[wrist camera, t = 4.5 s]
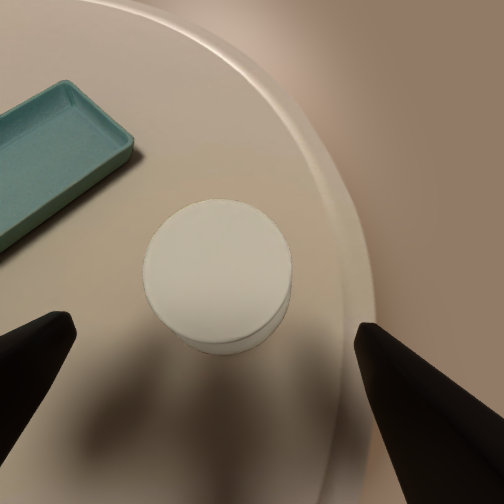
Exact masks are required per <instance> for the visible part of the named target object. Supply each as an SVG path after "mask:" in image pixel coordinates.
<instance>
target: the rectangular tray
mask: <svg viewBox="0 0 504 504" xmlns="http://www.w3.org/2000/svg"><path fill="white" fill-rule="evenodd" d="M133 145H134V137H133V136H132V135H130V134H129V133H128V132H127V131H126V130H125V129H124V128H122V127H121V126H120V125H119V124H118V123H116V122H115V121H114V120H113V119H112V118H111V117H110V116H109V115H107V114H106V113H105V112H104V111H103V110H102V109H101V108H99V107H98V106H97V105H96V104H95V103H94V102H93V101H92V100H91V99H89V97H88V96H86V95H85V94H84V93H83V92H82V91H81V90H80V89H79V88H78V87H77V86H75V85H74V84H73V83H72V82H71V81H69V80H62V81H60V82H58V83H56V84H54V85H53V86H51V87H49V88H47V89H46V90H44V91H42V92H40V93H39V94H37V95H35V96H33V97H31V98H30V99H28V100H26V101H24V102H23V103H21V104H19V105H17V106H16V107H14V108H12V109H10V110H8V111H7V112H5V113H3V114H1V115H0V253H1V252H2V251H3V250H5V249H6V248H8V247H9V246H10V245H12V244H13V243H15V242H16V241H17V240H19V239H20V238H21V237H23V236H24V235H26V234H27V233H28V232H30V231H31V230H33V229H34V228H35V227H37V226H38V225H39V224H41V223H42V222H44V221H45V220H46V219H48V218H49V217H51V216H52V215H53V214H55V213H56V212H57V211H59V210H60V209H62V208H63V207H64V206H66V205H67V204H69V203H70V202H71V201H73V200H74V199H75V198H77V197H78V196H80V195H81V194H82V193H84V192H85V191H86V190H88V189H89V188H91V187H92V186H93V185H95V184H96V183H97V182H99V181H100V180H102V179H103V178H104V177H106V176H107V175H109V174H110V173H111V172H113V171H114V170H116V169H117V168H118V167H120V166H121V165H123V164H124V163H125V162H127V161H128V159H129V157H130V155H131V152H132V149H133Z"/></svg>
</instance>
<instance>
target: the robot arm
mask: <svg viewBox="0 0 504 504" xmlns="http://www.w3.org/2000/svg"><path fill="white" fill-rule="evenodd" d="M76 336H77V331H76V328H75V325H74V323H73V320H72V317H71V315H70V314H69V313H68V312H65V311H53V312H50V313H48V314H46V315H44V316H42V317H40V318H37V319H35V320H33V321H31V322H29V323H27V324H25V325H23V326H21V327H19V328H17V329H14V330H12V331H10V332H8V333H6V334H4V335H2V336H0V467H1V465H2V463H3V462H4V460H5V459H6V457H7V456H8V454H9V452H10V451H11V449H12V448H13V446H14V445H15V443H16V441H17V440H18V438H19V437H20V435H21V434H22V432H23V430H24V429H25V427H26V426H27V424H28V423H29V421H30V419H31V418H32V416H33V415H34V413H35V412H36V410H37V408H38V407H39V405H40V404H41V402H42V401H43V399H44V397H45V396H46V394H47V392H48V391H49V389H50V387H51V385H52V384H53V382H54V380H55V378H56V376H57V374H58V372H59V370H60V368H61V367H62V365H63V363H64V361H65V359H66V357H67V355H68V353H69V351H70V349H71V347H72V345H73V343H74V341H75V339H76ZM354 350H355V354H356V357H357V361H358V365H359V369H360V372H361V376H362V380H363V384H364V387H365V391H366V394H367V398H368V401H369V403H370V406H371V409H372V412H373V414H374V417H375V420H376V422H377V425H378V427H379V430H380V433H381V435H382V438H383V441H384V443H385V446H386V449H387V451H388V454H389V457H390V459H391V462H392V465H393V467H394V470H395V472H396V475H397V477H398V481H399V483H400V486H401V488H402V491H403V494H404V496H405V499H406V502H407V504H504V418H502V417H501V416H500V415H498V414H497V413H495V412H494V411H493V410H491V409H490V408H489V407H487V406H486V405H485V404H483V403H482V402H481V401H479V400H478V399H476V398H475V397H474V396H473V395H471V394H470V393H468V392H467V391H466V390H464V389H463V388H462V387H460V386H459V385H458V384H456V383H455V382H453V381H452V380H451V379H450V378H448V377H447V376H446V375H444V374H443V373H442V372H440V371H439V370H438V369H436V368H435V367H433V366H432V365H431V364H429V363H428V362H427V361H425V360H424V359H422V358H421V357H420V356H419V355H417V354H416V353H415V352H413V351H412V350H411V349H409V348H408V347H406V346H405V345H404V344H402V343H401V342H400V341H398V340H397V339H396V338H394V337H393V336H391V335H390V334H389V333H388V332H386V331H385V330H383V329H382V328H381V327H380V326H378V325H377V324H375V323H366V322H363V323H361V324H360V325H359V328H358V331H357V334H356V337H355V340H354Z"/></svg>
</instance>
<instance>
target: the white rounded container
mask: <svg viewBox="0 0 504 504" xmlns="http://www.w3.org/2000/svg"><path fill="white" fill-rule="evenodd" d="M291 279H292V259H291V254H290V250H289V247H288V244H287V242H286V239H285V237H284V235H283V234H282V232H281V230H280V229H279V228H278V226H277V225H276V224H275V223H274V222H273V221H272V220H271V219H270V218H269V217H268V216H267V215H266V214H264V213H263V212H262V211H260V210H258V209H257V208H255V207H253V206H251V205H248V204H246V203H243V202H239V201H235V200H229V199H211V200H205V201H200V202H196V203H193V204H191V205H188V206H186V207H184V208H182V209H181V210H179V211H177V212H176V213H174V214H173V215H172V216H170V217H169V218H168V219H167V220H166V221H165V222H164V223H163V224H162V225H161V226H160V227H159V229H158V230H157V231H156V233H155V234H154V236H153V237H152V239H151V241H150V242H149V245H148V247H147V250H146V253H145V257H144V262H143V285H144V290H145V294H146V297H147V300H148V302H149V304H150V306H151V308H152V310H153V311H154V313H155V314H156V316H157V317H158V318H159V319H160V320H161V321H162V322H163V323H164V324H165V325H166V326H167V327H168V328H170V329H171V331H172V332H173V333H174V334H175V335H176V336H177V337H178V338H179V339H180V340H181V341H183V342H184V343H185V344H187V345H188V346H190V347H192V348H194V349H196V350H198V351H201V352H203V353H207V354H213V355H221V356H222V355H232V354H237V353H241V352H244V351H247V350H250V349H252V348H253V347H255V346H257V345H259V344H260V343H262V342H263V341H265V340H266V339H267V338H268V337H269V336H270V335H271V334H272V333H273V332H274V331H275V330H276V328H277V327H278V326H279V324H280V323H281V321H282V320H283V318H284V316H285V313H286V311H287V308H288V305H289V301H290V296H291V288H292V281H291Z"/></svg>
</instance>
